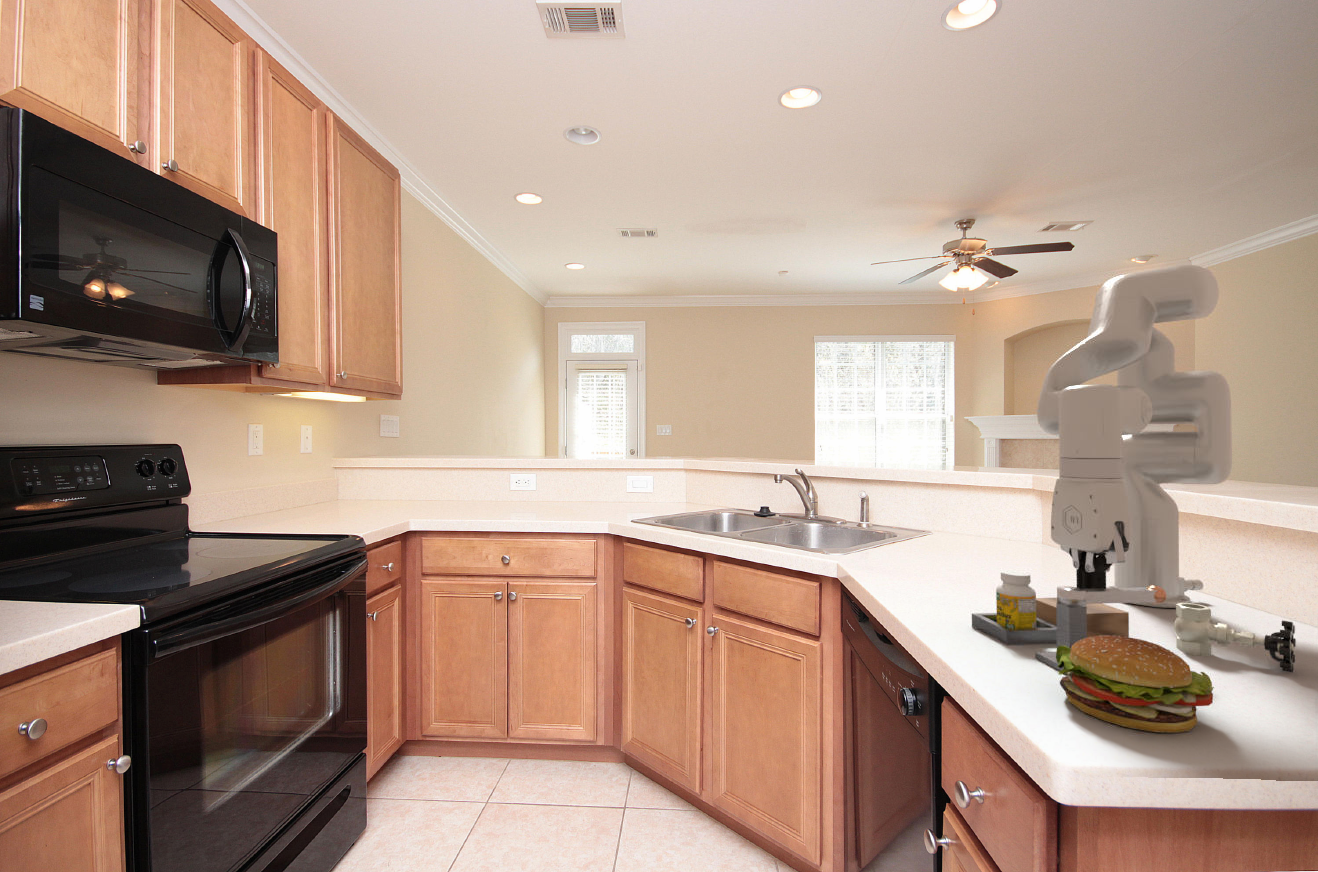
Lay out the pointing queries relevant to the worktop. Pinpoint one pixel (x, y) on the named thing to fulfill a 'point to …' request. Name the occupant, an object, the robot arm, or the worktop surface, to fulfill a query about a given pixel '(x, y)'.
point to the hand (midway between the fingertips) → (1091, 597)
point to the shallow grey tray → (1015, 630)
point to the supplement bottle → (1016, 601)
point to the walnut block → (1089, 617)
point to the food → (1133, 683)
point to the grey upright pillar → (1066, 631)
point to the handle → (1109, 595)
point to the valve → (1228, 635)
